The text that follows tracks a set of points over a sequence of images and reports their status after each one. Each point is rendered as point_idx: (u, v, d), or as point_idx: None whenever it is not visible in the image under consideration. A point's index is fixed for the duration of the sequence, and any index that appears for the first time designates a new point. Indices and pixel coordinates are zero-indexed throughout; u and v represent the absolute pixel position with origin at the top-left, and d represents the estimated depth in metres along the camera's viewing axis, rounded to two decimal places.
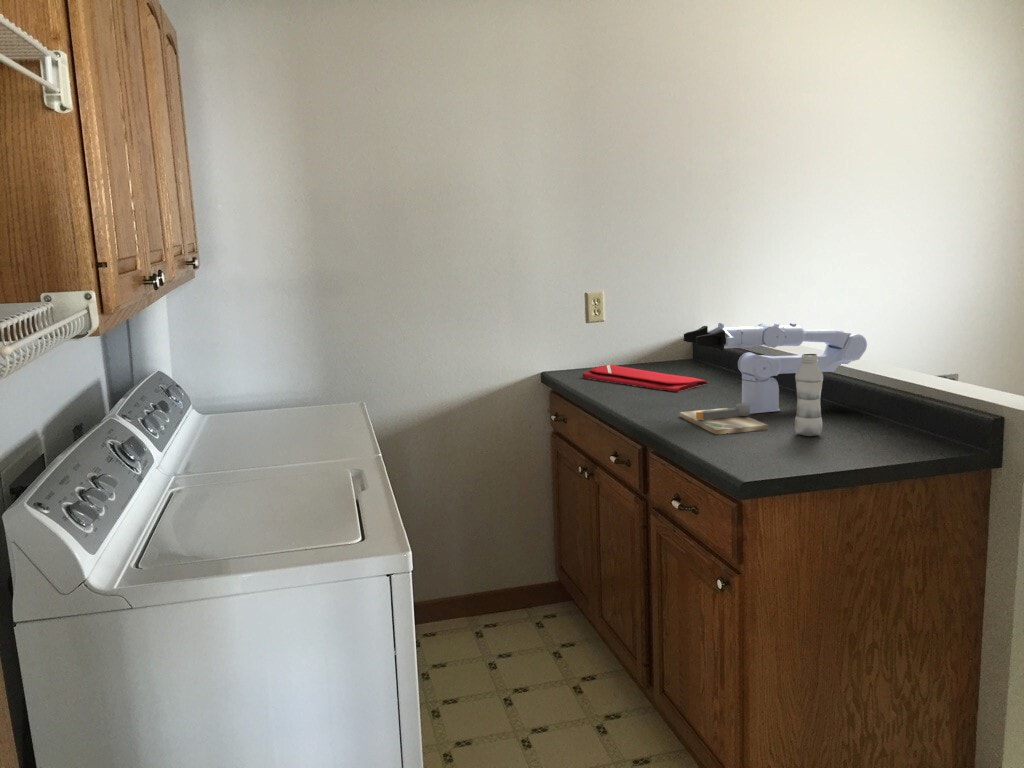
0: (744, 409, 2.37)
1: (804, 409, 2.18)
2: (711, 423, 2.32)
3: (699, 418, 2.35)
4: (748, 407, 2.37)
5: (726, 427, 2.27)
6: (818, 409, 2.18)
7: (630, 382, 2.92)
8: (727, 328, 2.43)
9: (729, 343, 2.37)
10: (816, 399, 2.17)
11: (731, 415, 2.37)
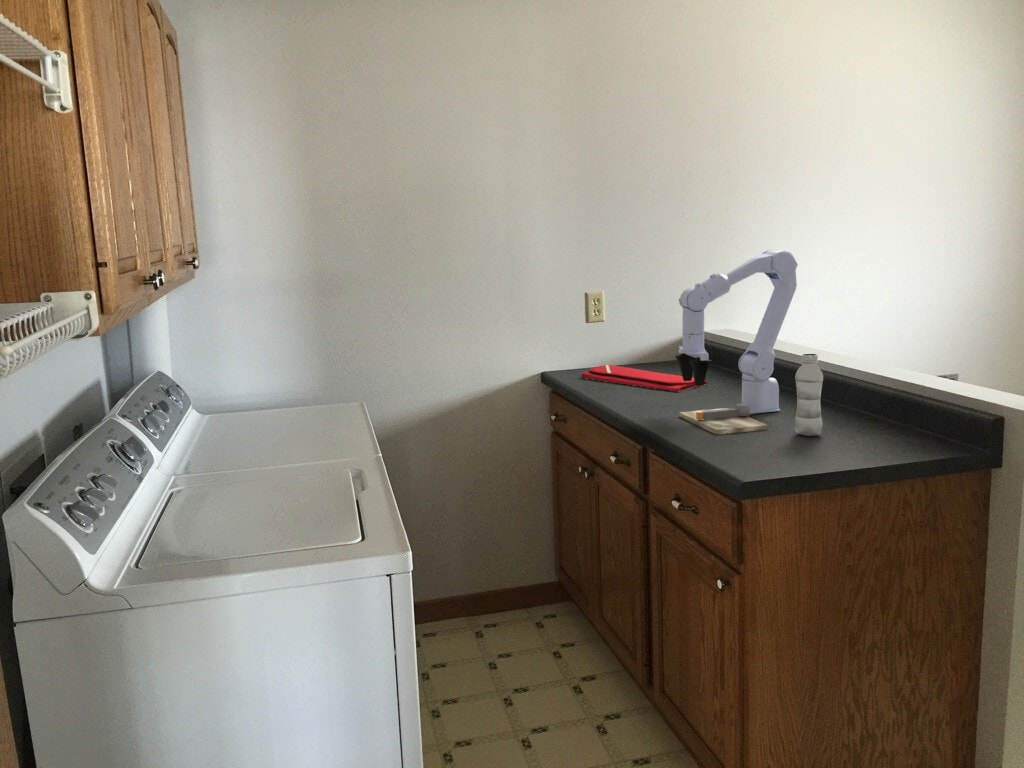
0: (744, 409, 2.37)
1: (804, 409, 2.18)
2: (711, 423, 2.32)
3: (699, 418, 2.35)
4: (748, 407, 2.37)
5: (726, 427, 2.27)
6: (818, 409, 2.18)
7: (630, 382, 2.92)
8: (686, 346, 2.42)
9: (707, 358, 2.38)
10: (816, 399, 2.17)
11: (731, 415, 2.37)
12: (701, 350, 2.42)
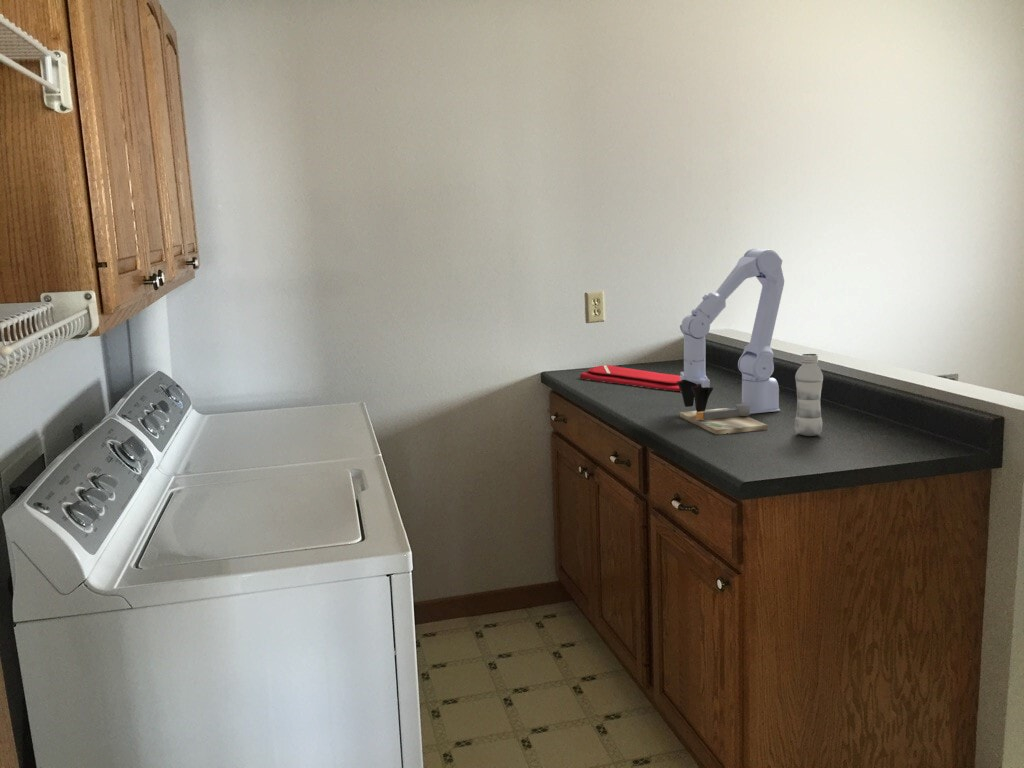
0: (744, 409, 2.37)
1: (804, 409, 2.18)
2: (711, 423, 2.32)
3: (699, 418, 2.35)
4: (748, 407, 2.37)
5: (726, 427, 2.27)
6: (818, 409, 2.18)
7: (630, 382, 2.92)
8: (687, 373, 2.43)
9: (708, 385, 2.38)
10: (816, 399, 2.17)
11: (731, 415, 2.37)
12: (702, 377, 2.42)
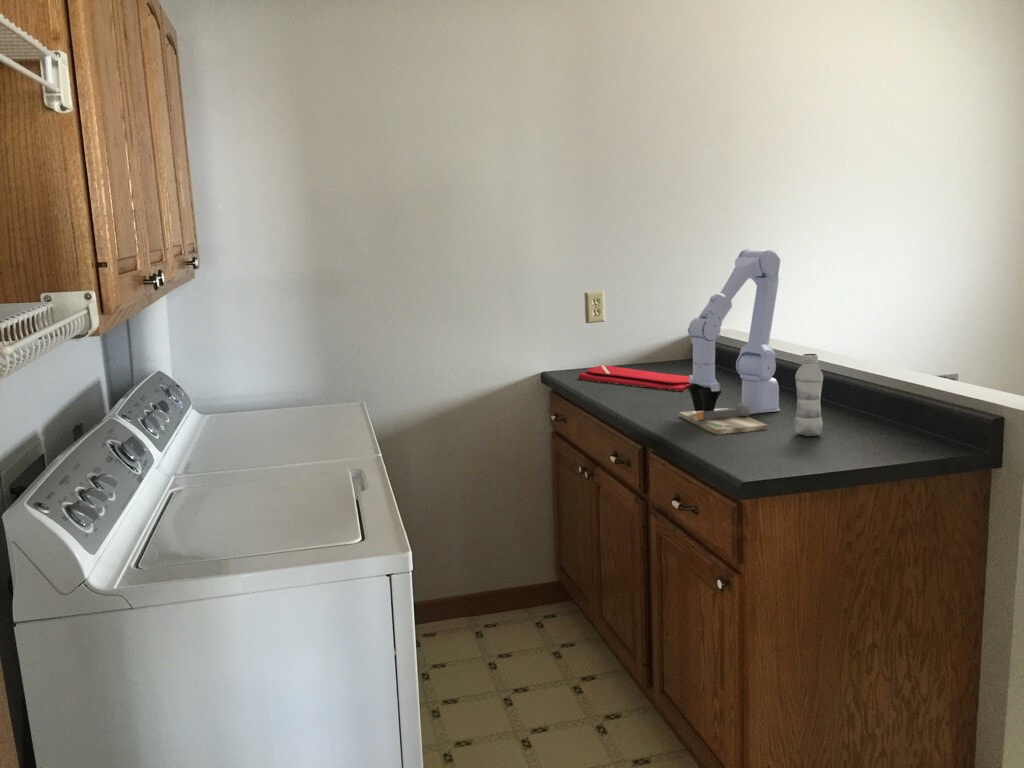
0: (744, 409, 2.37)
1: (804, 409, 2.18)
2: (711, 423, 2.32)
3: (699, 418, 2.35)
4: (748, 407, 2.37)
5: (726, 427, 2.27)
6: (818, 409, 2.18)
7: (631, 382, 2.92)
8: (696, 376, 2.37)
9: (718, 389, 2.33)
10: (816, 399, 2.17)
11: (731, 415, 2.37)
12: (712, 380, 2.37)
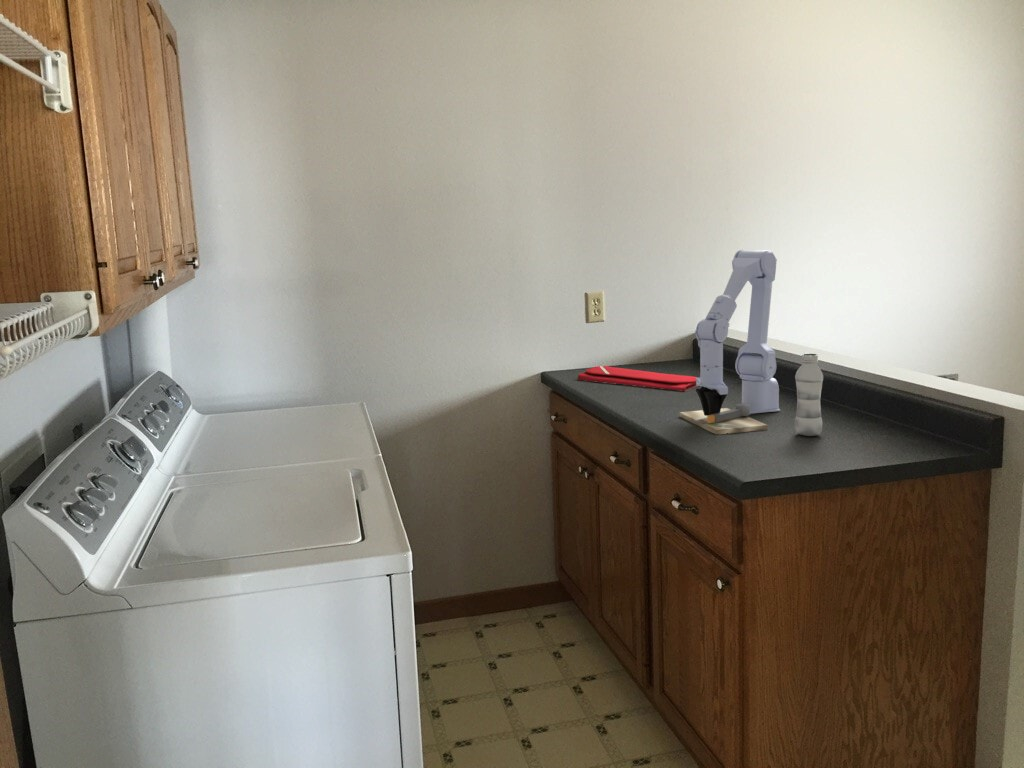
0: (746, 409, 2.37)
1: (804, 409, 2.18)
2: (711, 423, 2.32)
3: (711, 421, 2.31)
4: (749, 407, 2.37)
5: (726, 427, 2.27)
6: (818, 409, 2.18)
7: (631, 382, 2.92)
8: (704, 379, 2.33)
9: (726, 392, 2.29)
10: (816, 399, 2.17)
11: (736, 416, 2.36)
12: (720, 383, 2.33)
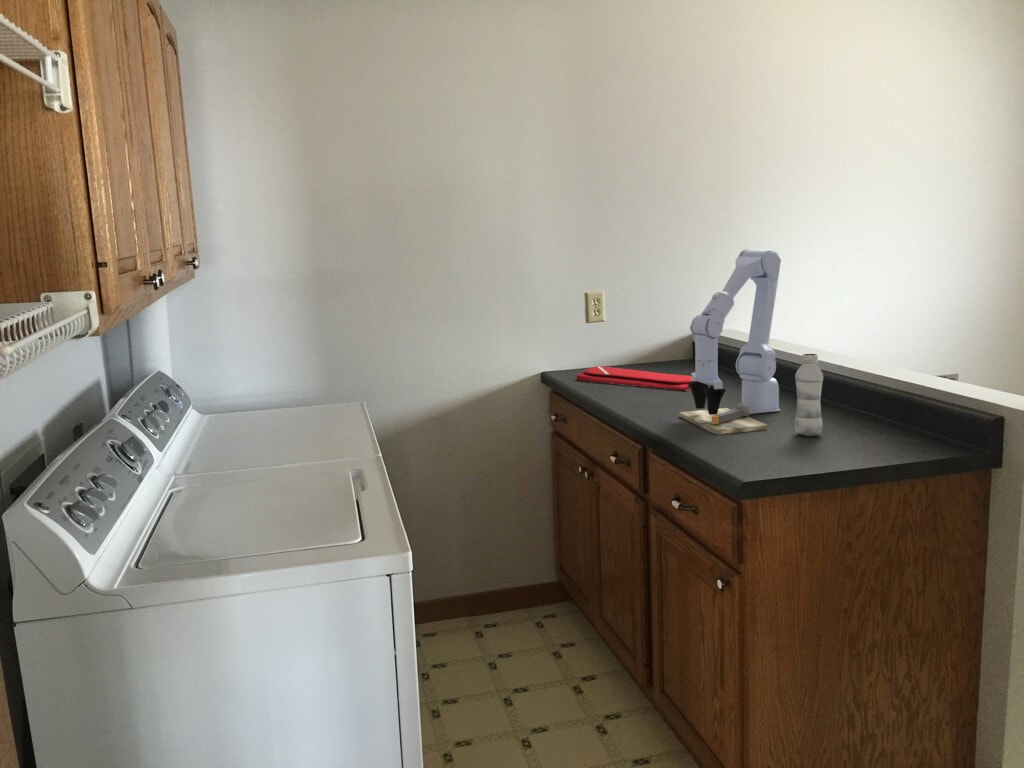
0: (747, 409, 2.37)
1: (804, 409, 2.18)
2: (711, 423, 2.32)
3: (716, 422, 2.30)
4: (749, 406, 2.38)
5: (726, 427, 2.27)
6: (818, 409, 2.18)
7: (632, 382, 2.91)
8: (699, 374, 2.36)
9: (720, 386, 2.31)
10: (816, 399, 2.17)
11: (737, 416, 2.35)
12: (715, 378, 2.35)
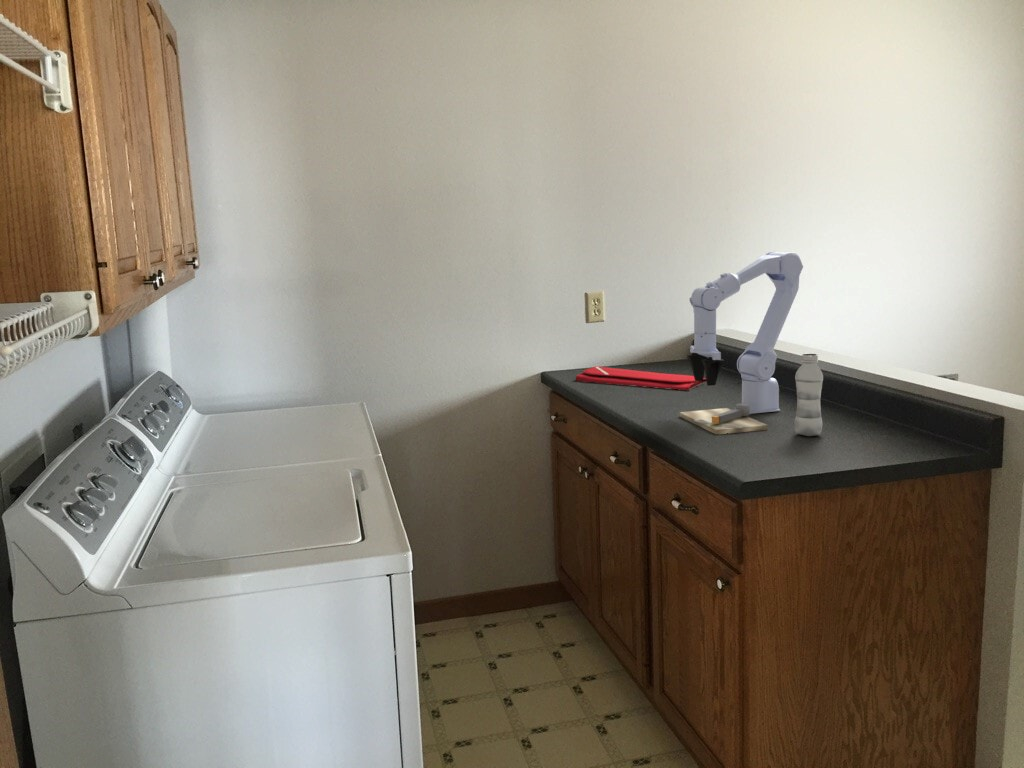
0: (747, 409, 2.37)
1: (804, 409, 2.18)
2: (711, 423, 2.32)
3: (716, 422, 2.30)
4: (749, 406, 2.38)
5: (726, 427, 2.27)
6: (818, 409, 2.18)
7: (633, 383, 2.91)
8: (697, 346, 2.40)
9: (719, 357, 2.35)
10: (816, 399, 2.17)
11: (737, 416, 2.35)
12: (713, 349, 2.39)
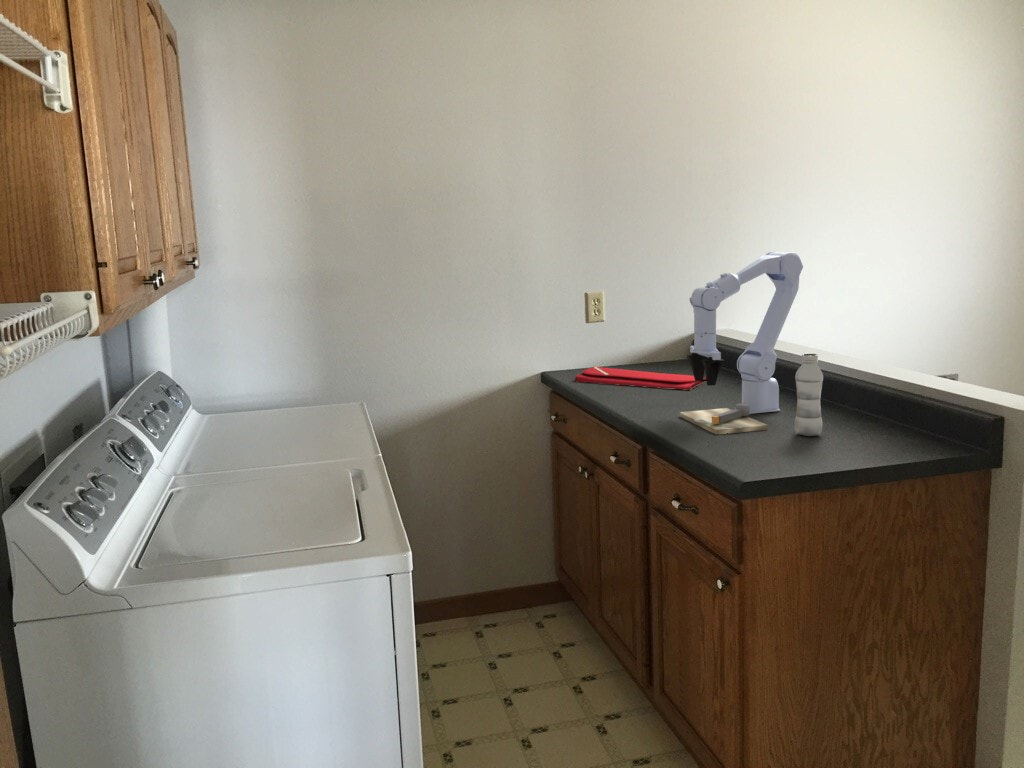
0: (747, 409, 2.37)
1: (804, 409, 2.18)
2: (711, 423, 2.32)
3: (716, 422, 2.30)
4: (749, 406, 2.38)
5: (726, 427, 2.27)
6: (818, 409, 2.18)
7: (633, 383, 2.91)
8: (697, 346, 2.40)
9: (719, 357, 2.35)
10: (816, 399, 2.17)
11: (737, 416, 2.35)
12: (713, 349, 2.39)
